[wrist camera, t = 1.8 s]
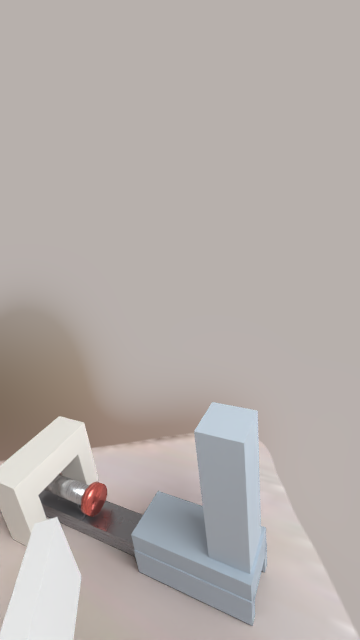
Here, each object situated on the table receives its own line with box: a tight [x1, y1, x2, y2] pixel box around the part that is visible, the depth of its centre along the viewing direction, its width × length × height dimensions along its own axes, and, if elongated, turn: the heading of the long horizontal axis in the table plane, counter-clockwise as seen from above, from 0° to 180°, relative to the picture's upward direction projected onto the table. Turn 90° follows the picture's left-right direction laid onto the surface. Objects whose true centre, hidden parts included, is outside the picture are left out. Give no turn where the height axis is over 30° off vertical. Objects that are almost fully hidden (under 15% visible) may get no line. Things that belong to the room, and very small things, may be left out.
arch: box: [0, 416, 99, 546], centre depth 39 cm, size 4×10×9 cm, turn 154°
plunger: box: [44, 474, 107, 517], centre depth 38 cm, size 9×3×3 cm, turn 64°
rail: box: [38, 490, 143, 556], centre depth 35 cm, size 24×3×2 cm, turn 64°
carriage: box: [131, 402, 267, 626], centre depth 29 cm, size 11×5×18 cm, turn 64°
